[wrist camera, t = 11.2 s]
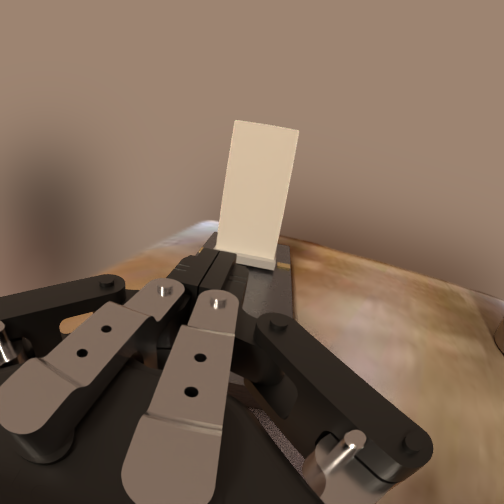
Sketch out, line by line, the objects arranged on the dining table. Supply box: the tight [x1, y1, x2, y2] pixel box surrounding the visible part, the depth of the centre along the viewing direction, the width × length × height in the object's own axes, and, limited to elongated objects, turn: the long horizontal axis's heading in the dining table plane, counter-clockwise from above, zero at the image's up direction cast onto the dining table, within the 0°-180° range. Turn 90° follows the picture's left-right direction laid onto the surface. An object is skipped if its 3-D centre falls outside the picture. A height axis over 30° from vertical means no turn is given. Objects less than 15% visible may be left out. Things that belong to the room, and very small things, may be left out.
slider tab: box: [214, 120, 299, 270], centre depth 27 cm, size 4×6×14 cm, turn 84°
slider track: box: [195, 232, 293, 410], centre depth 25 cm, size 24×10×2 cm, turn 174°
